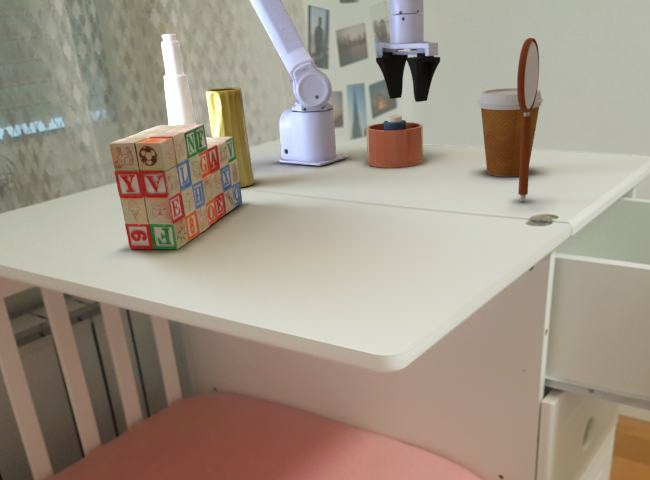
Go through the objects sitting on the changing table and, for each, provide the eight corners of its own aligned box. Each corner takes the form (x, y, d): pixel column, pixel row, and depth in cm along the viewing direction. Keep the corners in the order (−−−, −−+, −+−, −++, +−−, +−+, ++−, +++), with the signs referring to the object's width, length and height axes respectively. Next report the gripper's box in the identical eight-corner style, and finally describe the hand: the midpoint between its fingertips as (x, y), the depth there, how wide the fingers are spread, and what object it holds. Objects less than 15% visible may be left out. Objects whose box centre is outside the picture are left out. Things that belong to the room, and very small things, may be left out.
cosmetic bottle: (205, 172, 123) (186, 32, 113) (212, 178, 117) (191, 33, 108) (170, 176, 121) (147, 35, 111) (174, 183, 116) (151, 35, 106)
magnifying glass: (521, 210, 91) (529, 39, 82) (508, 209, 92) (514, 40, 83) (536, 194, 98) (544, 35, 89) (523, 193, 99) (531, 36, 90)
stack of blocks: (202, 203, 102) (189, 113, 97) (243, 203, 101) (232, 112, 96) (128, 249, 83) (107, 141, 78) (178, 250, 82) (160, 140, 77)
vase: (220, 181, 116) (208, 87, 110) (257, 179, 115) (247, 86, 109) (212, 189, 110) (198, 92, 104) (251, 188, 110) (239, 90, 104)
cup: (357, 165, 122) (355, 129, 119) (386, 155, 129) (385, 121, 126) (405, 169, 117) (404, 131, 114) (432, 159, 124) (432, 123, 121)
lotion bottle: (380, 160, 122) (378, 117, 119) (392, 156, 125) (390, 114, 122) (399, 161, 120) (398, 118, 117) (410, 157, 123) (410, 115, 120)
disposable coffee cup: (486, 165, 117) (489, 87, 112) (545, 167, 113) (550, 87, 108) (468, 177, 109) (469, 94, 104) (530, 180, 105) (534, 95, 100)
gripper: (452, 11, 115) (452, 100, 121) (400, 13, 127) (402, 94, 132) (417, 13, 112) (418, 104, 118) (367, 15, 123) (370, 98, 129)
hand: (408, 99), depth 125 cm, fingers open, 7 cm apart
